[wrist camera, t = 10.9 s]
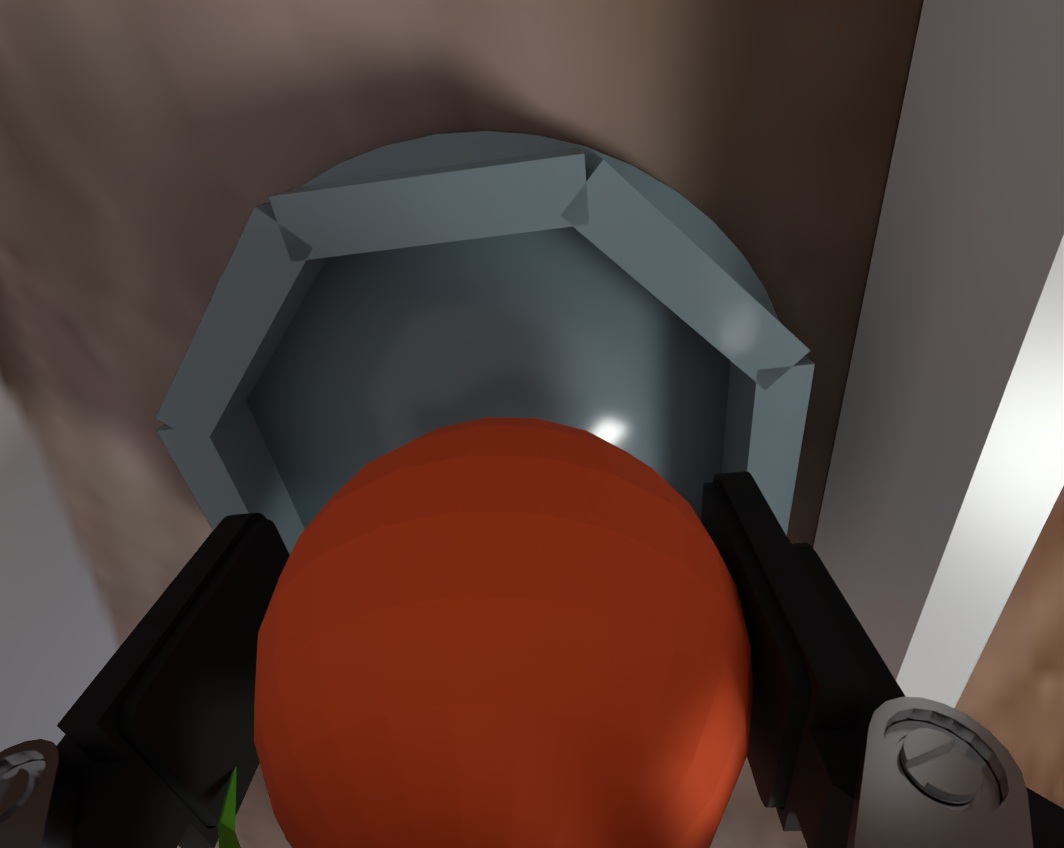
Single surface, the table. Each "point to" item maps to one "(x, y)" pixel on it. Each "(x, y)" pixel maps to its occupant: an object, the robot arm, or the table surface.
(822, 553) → the low wall
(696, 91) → the table surface
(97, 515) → the table surface
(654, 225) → the grey shallow dish
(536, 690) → the clementine
